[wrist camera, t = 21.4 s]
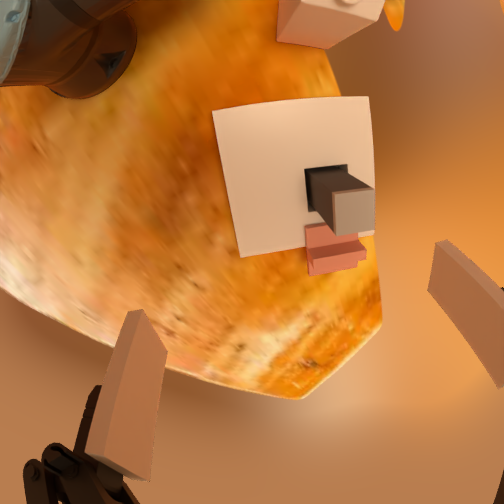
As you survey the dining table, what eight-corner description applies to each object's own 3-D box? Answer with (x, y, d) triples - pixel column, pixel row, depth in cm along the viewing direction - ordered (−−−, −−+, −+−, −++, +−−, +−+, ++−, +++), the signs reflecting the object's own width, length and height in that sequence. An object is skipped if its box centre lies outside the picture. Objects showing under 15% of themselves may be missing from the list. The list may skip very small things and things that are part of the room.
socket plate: (214, 111, 33) (211, 111, 30) (357, 97, 33) (368, 96, 30) (240, 246, 42) (240, 257, 39) (364, 225, 42) (374, 234, 39)
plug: (304, 169, 37) (334, 194, 26) (334, 165, 37) (375, 189, 26) (307, 199, 39) (336, 236, 28) (336, 195, 39) (374, 229, 28)
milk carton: (278, 0, 26) (312, -72, 9) (328, 9, 26) (393, -46, 9) (275, 41, 29) (312, -16, 12) (327, 50, 29) (399, 11, 13)
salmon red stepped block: (304, 225, 37) (311, 238, 34) (355, 217, 37) (367, 229, 34) (307, 272, 41) (314, 288, 37) (354, 263, 41) (364, 277, 37)
